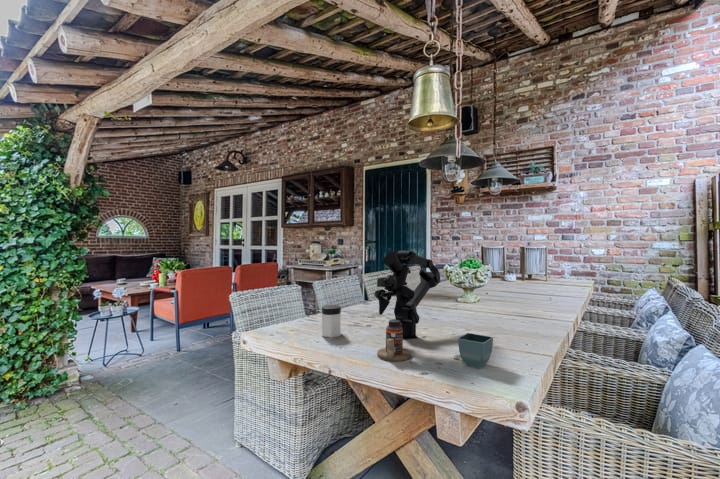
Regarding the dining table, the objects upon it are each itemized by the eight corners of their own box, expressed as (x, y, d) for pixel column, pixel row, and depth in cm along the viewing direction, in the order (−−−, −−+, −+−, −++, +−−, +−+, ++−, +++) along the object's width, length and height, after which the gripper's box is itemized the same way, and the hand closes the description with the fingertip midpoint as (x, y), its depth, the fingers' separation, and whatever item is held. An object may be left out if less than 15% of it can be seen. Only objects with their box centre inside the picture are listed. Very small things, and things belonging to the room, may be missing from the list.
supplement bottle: (396, 356, 118) (396, 323, 117) (382, 352, 121) (382, 320, 121) (406, 352, 122) (406, 320, 122) (392, 348, 126) (392, 317, 126)
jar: (326, 338, 142) (326, 309, 142) (317, 334, 149) (317, 306, 149) (345, 335, 147) (345, 307, 147) (335, 331, 154) (335, 304, 154)
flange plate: (382, 348, 129) (382, 329, 129) (414, 351, 125) (414, 332, 125) (372, 359, 117) (372, 339, 117) (407, 363, 114) (407, 342, 114)
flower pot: (467, 358, 119) (467, 332, 118) (493, 364, 113) (493, 336, 113) (457, 365, 112) (457, 338, 112) (484, 372, 106) (484, 343, 106)
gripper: (370, 271, 144) (358, 306, 137) (399, 265, 129) (386, 303, 122) (390, 283, 148) (379, 317, 141) (420, 279, 133) (409, 316, 126)
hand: (387, 314), depth 132 cm, fingers open, 9 cm apart
